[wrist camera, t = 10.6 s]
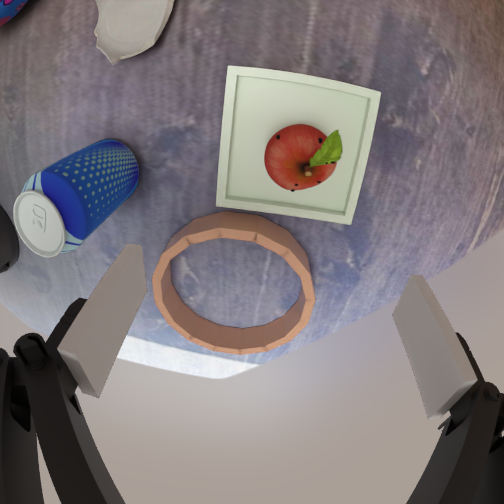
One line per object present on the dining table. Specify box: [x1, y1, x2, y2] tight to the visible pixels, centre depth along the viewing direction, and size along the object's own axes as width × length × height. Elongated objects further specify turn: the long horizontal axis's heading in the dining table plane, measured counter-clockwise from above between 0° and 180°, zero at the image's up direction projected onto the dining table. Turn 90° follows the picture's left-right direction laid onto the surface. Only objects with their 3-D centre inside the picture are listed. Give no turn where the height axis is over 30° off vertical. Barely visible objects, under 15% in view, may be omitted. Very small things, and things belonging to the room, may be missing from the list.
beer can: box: [13, 139, 139, 258], centre depth 28 cm, size 8×8×16 cm
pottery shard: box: [94, 0, 175, 65], centre depth 22 cm, size 10×11×5 cm
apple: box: [264, 124, 343, 192], centre depth 27 cm, size 8×7×10 cm
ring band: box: [152, 211, 316, 355], centre depth 40 cm, size 21×21×4 cm
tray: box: [216, 66, 381, 225], centre depth 31 cm, size 16×16×2 cm
